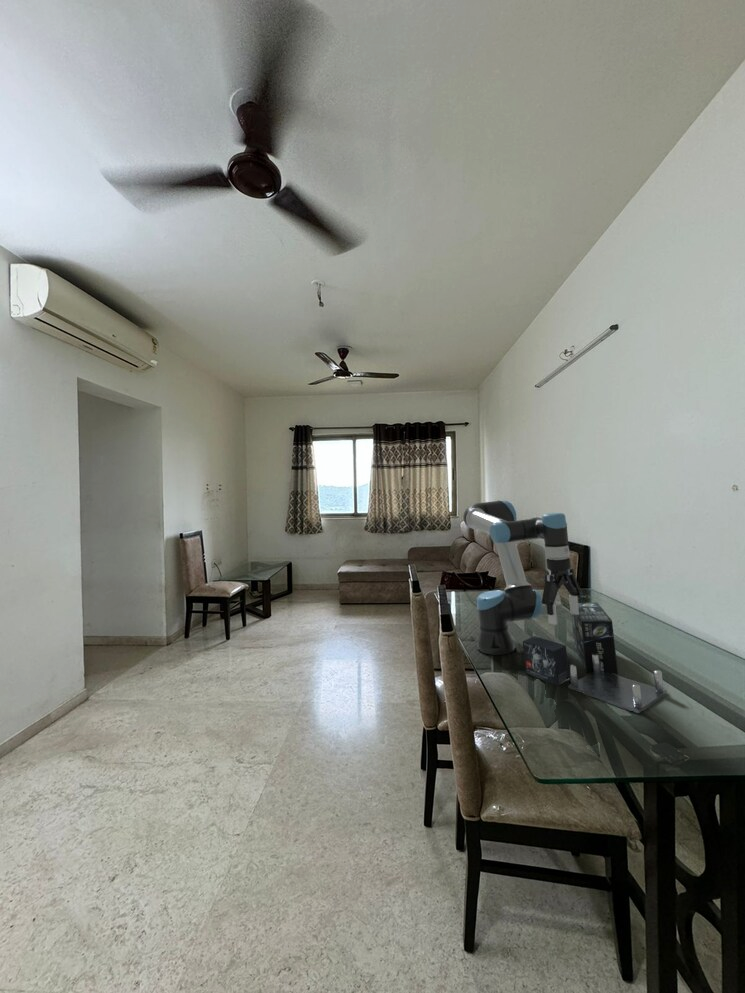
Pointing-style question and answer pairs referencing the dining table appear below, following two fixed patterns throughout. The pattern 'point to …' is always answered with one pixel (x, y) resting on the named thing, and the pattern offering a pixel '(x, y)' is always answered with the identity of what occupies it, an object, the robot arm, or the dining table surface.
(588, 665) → the box
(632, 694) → the chassis
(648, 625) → the dining table surface
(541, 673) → the small box
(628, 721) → the dining table surface
